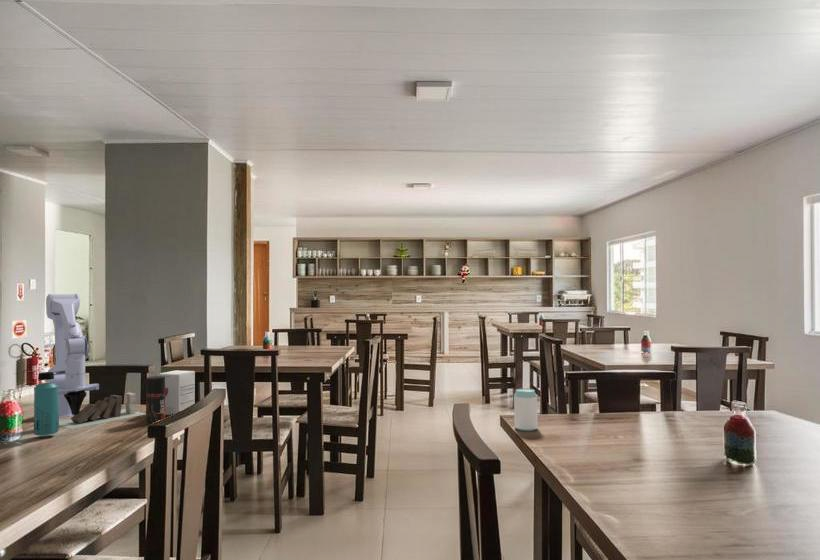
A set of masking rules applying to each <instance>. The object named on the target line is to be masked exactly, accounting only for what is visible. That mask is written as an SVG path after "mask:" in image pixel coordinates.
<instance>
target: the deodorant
mask: <svg viewBox="0 0 820 560" xmlns="http://www.w3.org/2000/svg"><path fill="white" fill-rule="evenodd" d="M145 413H146V414H145V422H146V424H150V423H153V422H156V421H158V420H161V419H164V418H165V419H166V415H165V376H159V375H156V376H153V375H152V376H147V377H145Z"/></svg>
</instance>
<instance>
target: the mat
mask: <svg viewBox="0 0 820 560" xmlns="http://www.w3.org/2000/svg"><path fill="white" fill-rule="evenodd" d="M143 415H145V416H146V412H141V411H136V413H135V414H129V413H126V408H123V409H122V408H121V414H120V416H118V417H114V416H109V417H108V419H106V418H101V417H98V418H97V419H96V420H95V421H91V420H87V419H86V420H85V421H84V422H83V423H81V424H78V423H74V422H73V421H72V420H71V419H69V418H68V419H64V420H59V423H58V424H59V427H61V428H65V429H69V430H75V429H79V428H83V427H89V426H94V425H99V424H103V423H109V422H110V423H111V422H113V421H114V422H115V421H119V420H123V419H124V420H125V419H129V418H133V417H139V416H143Z"/></svg>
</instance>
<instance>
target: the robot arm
mask: <svg viewBox="0 0 820 560" xmlns="http://www.w3.org/2000/svg"><path fill="white" fill-rule="evenodd" d="M80 304H81V299H80V295H78V293H73V294H68V293H67V294H66V293H65V294H63V293H61V294H51V293H49V294H48V295H47V296H46V299H45V308H46V311H45V312H46V317H47V319H50V320H52V323H53V327H54V328H53V331H54V349H55V350H54V352H55V364H54V365H53V366H52V367H50V368H49V369H48V371H47V372H53V373H54V379H50V380H46V383H50V382H53V383H55V384H57V385H58V416H59V419H62V418H63V419H64V418H69V417H73V416H74V415H77V414H79V411H80V410H81V407H82V404H83V402H84V399H85V398H86V397H87V392H89V391H94V390H96V391H98V390H99V389H100V384H99V383H90V384H86V355H87V353H88V348H89V347H88V346H89V345H88V339H87V337H86V336H85V335H83V331H82V328H81V324H80V323H78V322H76V317H77V315H78V312H79V309H80V307H81V305H80Z"/></svg>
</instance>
